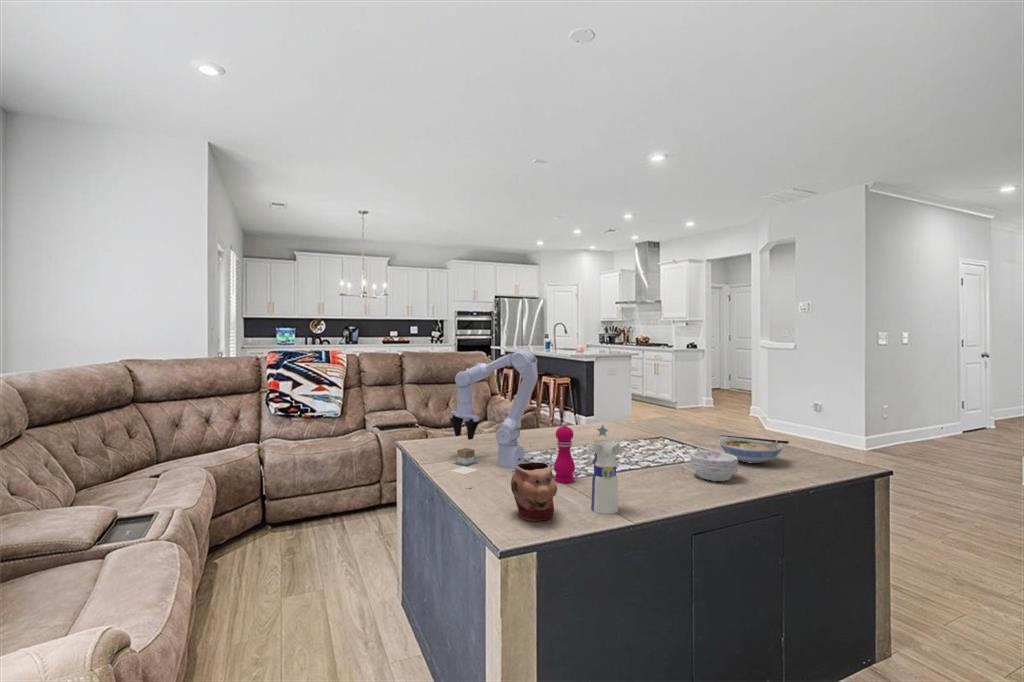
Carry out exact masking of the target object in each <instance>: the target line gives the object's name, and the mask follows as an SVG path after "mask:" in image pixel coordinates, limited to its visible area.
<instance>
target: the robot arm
mask: <svg viewBox="0 0 1024 682" xmlns="http://www.w3.org/2000/svg"><path fill="white" fill-rule="evenodd" d="M537 364H538V359H537V357H536V355H535V353H534V352H533V351H531V350H523V351H521V350H518V351H515V352H512V353H508V354H505V355H503V356H501V357H499V358H497V359H495V360H493V361H491V362H488V363H485V362H477V363H476V364H475V365H474V366H472V367H467V368H465V370H464V371H463V370H462V371H461V370H459V372H457V373H456V375H455V377H454V382H455V384H456V385H457V389H456V391H457V392H456V394H457V396H456V397H457V399H456V400H457V401H456V404H457V405H456V406H457V407H456V408H457V409H456V410H451V411H450V418H449V421H450V423H451V425H452V427H453V431H454V435H455V437H459V436H461V435H462V425H463V422H464V424H465V426H466V427H465V428H466V433H467V434H466V435H467V440H474V437H475V433H476V430H477V429H478V426H479V424H480V420H479V419H480V417H479V415H477V414H475V413H473V385H474V383H477V382H479V381H482V380H484V379H486V378H489V376H490V374H491V372H493V371H497V370H499V369H502V368H504V367H507V366H508V367H513V368H514V369H515V370H516V371H517V372H518V373H519V375H520V377H521V382H520V385H519V387H518V389H517V392H516V394H515V396H514V399H513V402H512V404H511V407H510V409H509V411H508V414H507V417H506V418H505V419H504V421H503V422H502V423H501V426H500V427H499V428H498V429H497V430H496V431H495V440H496V441H497V443H498V445H497V449H498V450H497V451H498V452H497V453H498V455H497V458H498V459H497V462H498V463H497V464H498V466H499V467H503V468H509V469H515V468H516V466H517V465H518V464H521V463H525V448H524V447H523V446H521V445H519V443H518V439H519V437H520V435H521V427H522V422H521V421H522V419H523V416H524V414H525V411H526V408H527V406H528V403H529V401H530V398H531V397H532V394H533V392H534V389H535V388H536V385H537V382H538V379H539V376H538V367H537V366H538V365H537ZM465 420H466V421H465ZM513 472H514V473H515V470H513V471H511V473H513Z"/></svg>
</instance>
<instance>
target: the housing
mask: <svg viewBox="0 0 1024 682" xmlns="http://www.w3.org/2000/svg"><path fill="white" fill-rule="evenodd" d="M456 455H457V461H456V462H457V463H458V464H462V465H469V464H473V463H474V462H475V449H471V448H470V447H469V448H468V447H464V448H460V449H457V454H456Z"/></svg>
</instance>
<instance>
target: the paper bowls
mask: <svg viewBox="0 0 1024 682" xmlns="http://www.w3.org/2000/svg"><path fill="white" fill-rule="evenodd" d="M738 464H739V460H738V458H737V457H736V456H734V455H731V454H727V453H726V452H720V451H710V450H709V451H707V450H706V451H705V450H703V451H702V450H701V451H694V452H691V454H690V465H689V466H690V469H691V470H694V471H695V472H696V474H697V476H698V477H699V478H700V479H702V478H703V480H705V479H706V480H705V481H709V480H711V481H710V482H717V481H722V482H726V481H725V480H727V481H729V480H730V479H731V477H732V476H733V475H735V474H737V473H738V468H739V467H738Z"/></svg>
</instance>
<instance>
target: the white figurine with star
mask: <svg viewBox="0 0 1024 682" xmlns="http://www.w3.org/2000/svg"><path fill="white" fill-rule="evenodd" d="M596 430H597V431H598V432H599V433H598V437H601V436H604V437H607V432H608V431H609V429H608V428H605V427H604V424H602V425H601V426H600V427H599V428H596ZM590 450H591V451H592V452H593V453H594V459H593V461H592V464H593V475H592V479H591V481H592V482H591V502H590V503H591V504H590V509H591V510H592V512H594V513H597V514H602V515H612V514H616V513H618V512H619V497H618V495H619V494H618V487H619V486H618V484H619V483H618V477H617V466H618V462H617V460H616V456H618V455H619V454H620V453H621V451H622V448H621V446H620V443H619V442H618V441H617V440H613V439H609V438H608V439H606V438H605V439H603V438H600V439H594V440H592V443H591V444H590Z"/></svg>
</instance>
